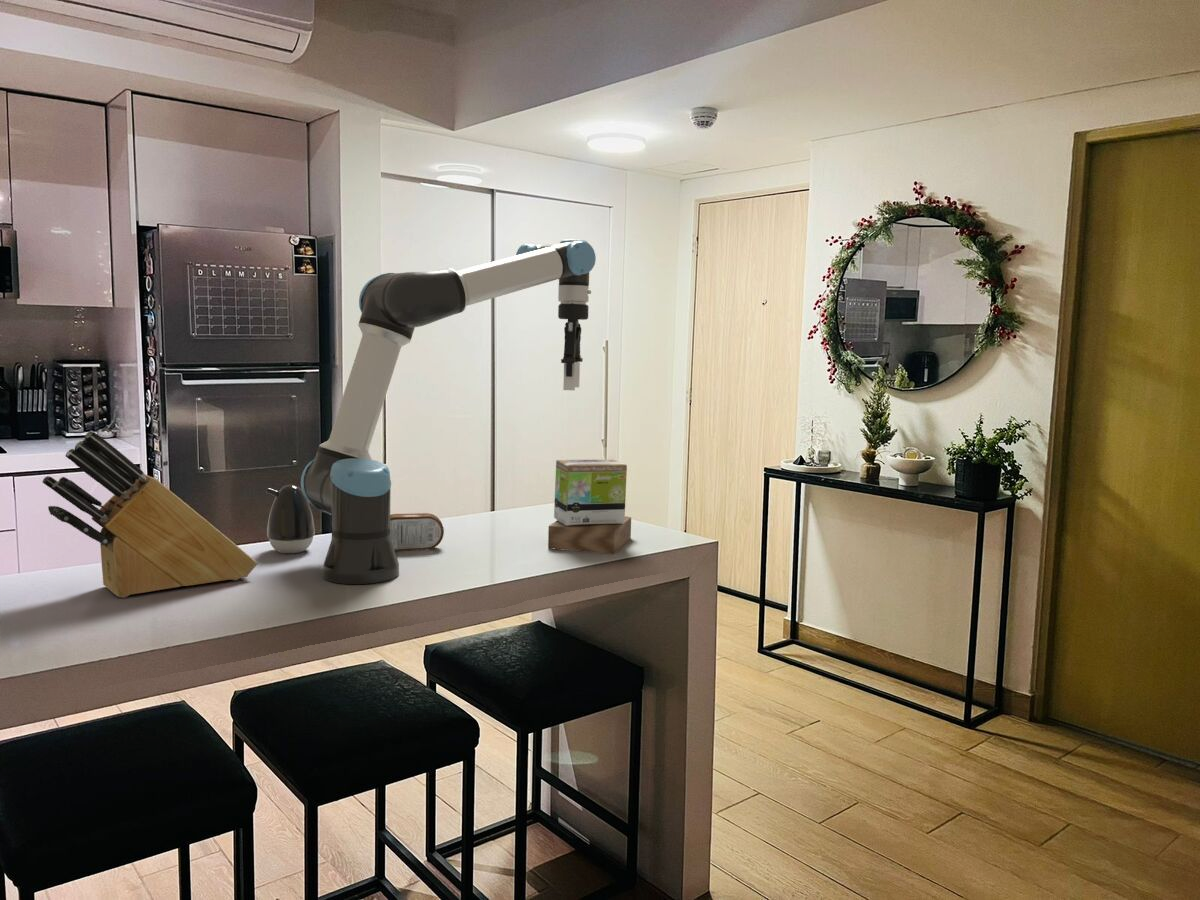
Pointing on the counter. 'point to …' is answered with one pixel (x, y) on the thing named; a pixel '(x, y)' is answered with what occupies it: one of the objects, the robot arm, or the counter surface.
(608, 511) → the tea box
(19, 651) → the counter surface
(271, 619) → the counter surface
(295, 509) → the pump dispenser
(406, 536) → the tin
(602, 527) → the walnut block
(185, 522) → the knife block
